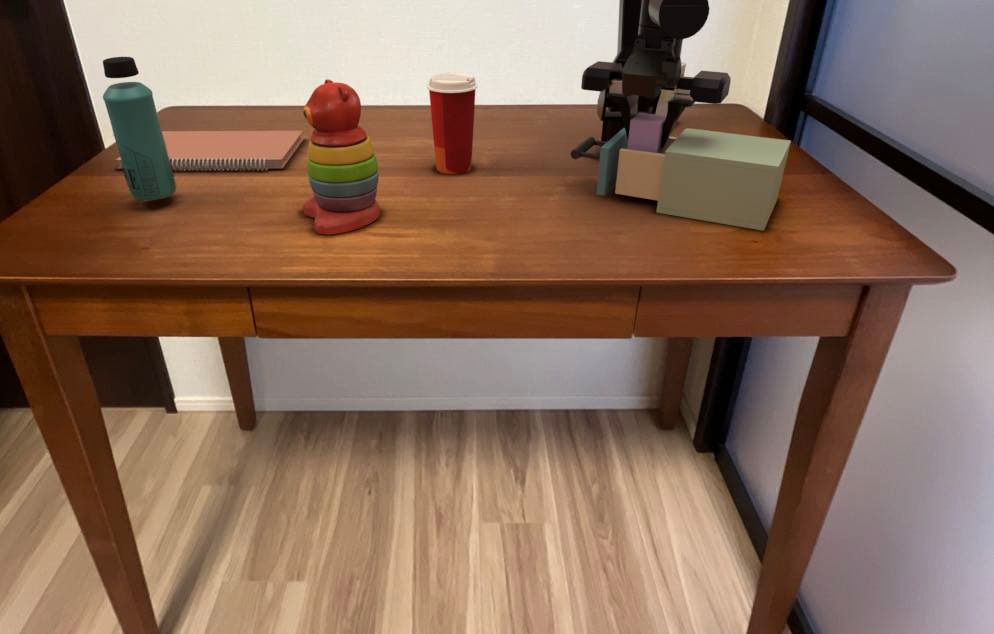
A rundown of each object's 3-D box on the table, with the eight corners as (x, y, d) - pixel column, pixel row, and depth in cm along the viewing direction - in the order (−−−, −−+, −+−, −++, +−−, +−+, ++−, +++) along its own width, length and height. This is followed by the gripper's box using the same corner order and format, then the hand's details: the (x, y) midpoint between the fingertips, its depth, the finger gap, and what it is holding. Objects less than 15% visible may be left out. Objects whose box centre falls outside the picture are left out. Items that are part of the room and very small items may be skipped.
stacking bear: (300, 209, 101) (281, 78, 92) (368, 197, 105) (357, 70, 95) (318, 237, 93) (300, 97, 83) (392, 224, 96) (382, 87, 87)
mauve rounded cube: (626, 154, 100) (630, 120, 98) (635, 146, 103) (639, 112, 101) (656, 158, 99) (661, 123, 96) (664, 150, 102) (669, 115, 99)
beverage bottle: (189, 197, 106) (155, 53, 95) (159, 213, 101) (120, 64, 90) (153, 192, 108) (116, 51, 97) (122, 208, 103) (79, 61, 92)
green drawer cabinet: (656, 212, 98) (665, 150, 94) (677, 185, 107) (686, 127, 102) (763, 231, 93) (778, 166, 88) (776, 201, 101) (791, 140, 97)
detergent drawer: (564, 189, 104) (567, 142, 100) (588, 167, 112) (591, 123, 108) (688, 209, 97) (696, 160, 93) (704, 185, 104) (713, 138, 101)
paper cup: (485, 164, 116) (485, 74, 109) (465, 179, 111) (464, 85, 103) (442, 158, 119) (439, 70, 112) (420, 172, 113) (416, 80, 106)
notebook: (115, 172, 116) (111, 160, 115) (156, 140, 130) (153, 129, 129) (281, 172, 115) (279, 159, 113) (304, 140, 129) (302, 129, 128)
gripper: (571, 30, 90) (563, 152, 98) (723, 41, 82) (700, 173, 91) (600, 17, 98) (590, 131, 106) (741, 26, 90) (718, 148, 99)
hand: (646, 145), depth 100 cm, fingers closed on mauve rounded cube, 4 cm apart
